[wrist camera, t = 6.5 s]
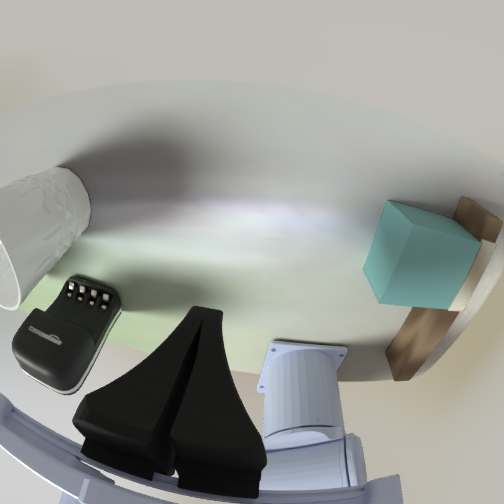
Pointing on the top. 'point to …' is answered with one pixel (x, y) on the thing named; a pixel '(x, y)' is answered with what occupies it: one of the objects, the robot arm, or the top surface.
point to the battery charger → (67, 335)
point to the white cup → (38, 229)
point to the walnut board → (439, 320)
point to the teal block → (418, 258)
